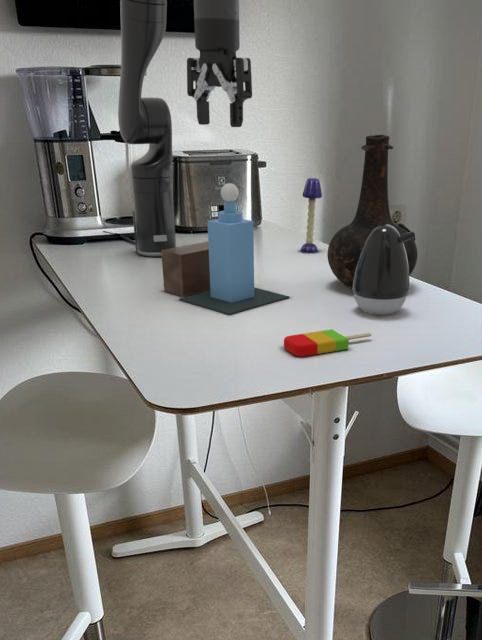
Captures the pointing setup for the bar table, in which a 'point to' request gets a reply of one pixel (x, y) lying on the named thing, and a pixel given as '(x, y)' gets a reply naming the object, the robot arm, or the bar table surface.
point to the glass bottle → (367, 214)
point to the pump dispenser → (382, 271)
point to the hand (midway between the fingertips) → (219, 125)
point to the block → (186, 269)
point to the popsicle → (318, 342)
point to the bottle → (231, 251)
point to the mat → (230, 308)
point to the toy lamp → (311, 212)
